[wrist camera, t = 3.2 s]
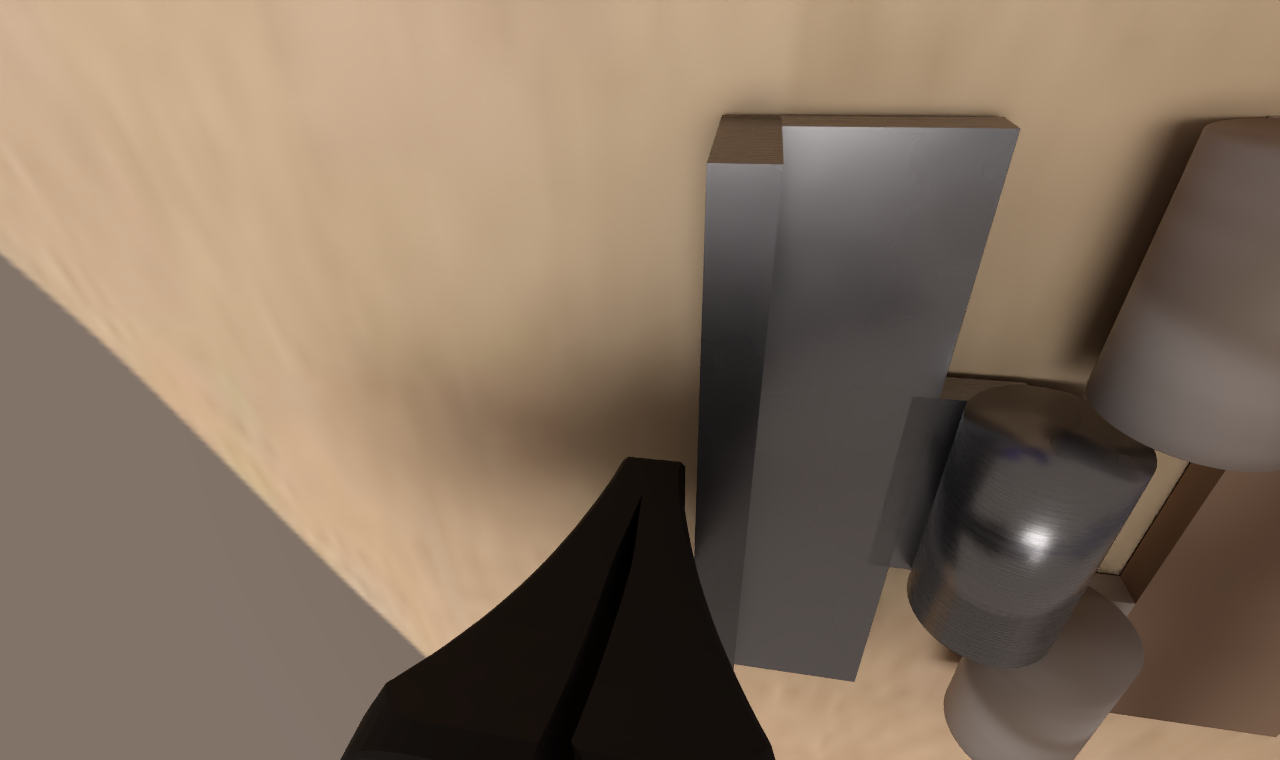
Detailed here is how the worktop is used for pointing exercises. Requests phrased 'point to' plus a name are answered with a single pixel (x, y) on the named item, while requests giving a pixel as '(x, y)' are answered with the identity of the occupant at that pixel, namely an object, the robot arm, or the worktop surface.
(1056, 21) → the worktop surface
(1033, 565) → the metal hinge
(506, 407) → the worktop surface
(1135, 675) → the fixed leaf
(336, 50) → the worktop surface
